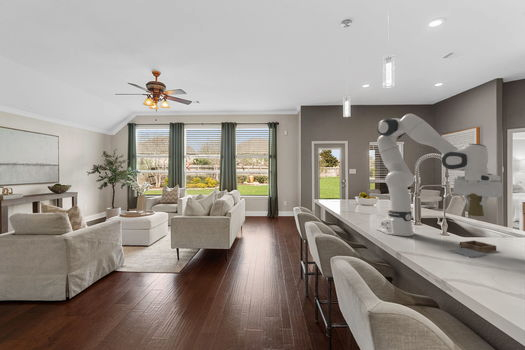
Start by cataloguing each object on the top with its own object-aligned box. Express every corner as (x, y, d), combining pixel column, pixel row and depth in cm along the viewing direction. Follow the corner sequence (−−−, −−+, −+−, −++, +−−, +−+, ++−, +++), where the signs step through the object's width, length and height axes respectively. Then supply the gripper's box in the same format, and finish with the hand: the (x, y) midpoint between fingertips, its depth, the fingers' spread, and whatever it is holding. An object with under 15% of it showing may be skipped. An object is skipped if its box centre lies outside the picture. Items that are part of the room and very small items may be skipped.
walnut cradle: (459, 247, 130) (459, 242, 130) (473, 245, 132) (473, 240, 132) (481, 253, 120) (481, 247, 120) (496, 250, 123) (496, 245, 123)
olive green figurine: (470, 213, 129) (470, 191, 129) (485, 215, 124) (486, 192, 124) (465, 214, 126) (466, 192, 126) (481, 216, 121) (481, 193, 121)
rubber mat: (449, 250, 124) (449, 249, 124) (464, 248, 126) (464, 247, 126) (471, 257, 114) (471, 256, 114) (487, 255, 117) (487, 253, 117)
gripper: (450, 176, 134) (449, 202, 134) (495, 177, 114) (495, 208, 114) (458, 176, 136) (458, 202, 136) (505, 177, 116) (504, 207, 116)
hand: (475, 204), depth 125 cm, fingers closed on olive green figurine, 4 cm apart
